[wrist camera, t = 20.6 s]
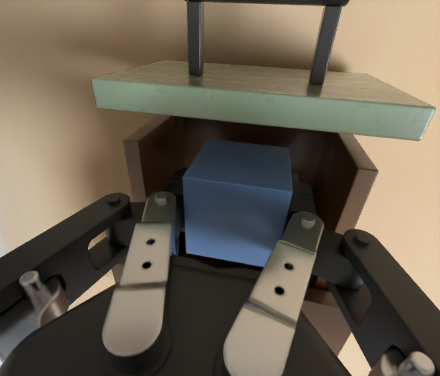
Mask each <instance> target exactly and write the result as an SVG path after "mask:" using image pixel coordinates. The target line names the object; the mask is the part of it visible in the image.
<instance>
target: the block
mask: <svg viewBox="0 0 440 376" xmlns="http://www.w3.org/2000/svg"><path fill="white" fill-rule="evenodd" d="M292 193H293V191H292V179H291V167H290V154H289V148H287V147H278V146H269V145H260V144H251V143H242V142H233V141H224V140H215V139H207V141H206V142H205V144H204V145H203V147H202V148H201V150H200V151H199V153H198V154H197V156H196V158H195V159H194V161H193V162H192V164H191V165H190V167H189V168H188V170H187V171H186V173H185V174H184V176H183V196H184V218H185V239H186V253H189V254H195V255H200V256H206V257H211V258H217V259H222V260H228V261H233V262H239V263H244V264H250V265H256V266H261V267H264V266H265V264H266V262H267V260H268V258H269V256H270V254H271V252H272V250H273V248H274V246H275V244H276V242H277V240H278V239H279V238H280V239H281V238H282V236H283V232H284V228H285V223H286V219H287V214H288V210H289V206H290V201H291V197H292Z"/></svg>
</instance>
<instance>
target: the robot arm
mask: <svg viewBox="0 0 440 376" xmlns="http://www.w3.org/2000/svg"><path fill="white" fill-rule="evenodd" d="M193 161H194V160H193ZM193 161H192V162H193ZM192 162H191V163H190V165H191V164H192ZM190 165H189V167H190ZM189 167H188V168H189ZM188 168H185V167H183V168H181V169H179V170H177V171H176V172H175V174H174V175H173V177H172V178H171V179H170V181H169V182H168V183H167V185H166V186H165V187H164V189H163V190H162V191H159V192H155V193H152V194H151V195H149V196H148V198H147V200H146V201H144V202H130V198H129V196H128V195H126V194H123V193H113V194H109V195H106V196H104V197H102V198H101V199H99V200H97V201H96V202H94V203H92V204H91V205H89V206H87V207H85V208H84V209H82V210H80V211H79V212H77V213H75V214H74V215H72V216H70V217H69V218H67V219H65V220H63V221H62V222H60V223H58V224H57V225H55V226H53V227H52V228H50V229H48V230H47V231H45V232H43V233H41V234H40V235H38V236H36V237H35V238H33V239H31V240H30V241H28V242H26V243H25V244H23V245H21V246H19V247H18V248H16V249H14V250H13V251H11V252H9V253H8V254H6V255H4V256H3V257H1V258H0V360H1V361H2V362H3V364H2V365H1V367H0V376H351V374H350V373H349V372H348V370H347V369H346V368H345V366H344V365H343V364H342V362H341V361H340V360H339V359H338V357H337V356H336V355H335V353H334V352H333V351H332V349H331V348H330V347H329V345H328V344H327V343H326V342H325V340H324V339H323V338H322V336H321V335H320V334H319V332H318V331H317V330H316V328H315V327H314V326H313V325H312V323H311V322H310V321H309V319H308V318H307V317H306V315H305V314H304V313H303V311H302V310H301V306H302V303H303V299H304V296H305V292H306V289H307V285H308V282H309V278H310V275H311V274H314V275H316V276H318V277H320V278H323V279H325V280H326V283H327V286H328V288H329V289H330V291H331V293H332V295H333V297H334V299H335V301H336V303H337V305H338V307H339V308H340V310H341V312H342V314H343V316H344V318H345V320H346V322H347V324H348V326H349V327H350V329H351V331H352V333H353V335H354V337H355V339H356V341H357V343H358V344H359V346H360V348H361V350H362V352H363V354H364V356H365V358H366V360H367V362H368V363H369V365H370V367H371V371H370V372H369V375H368V376H440V310H439V309H438V308H437V307H436V306H435V305H434V303H433V302H432V301H431V300H430V299H429V298H428V297H427V295H426V294H425V293H424V292H423V291H422V290H421V289H420V287H419V286H418V285H417V284H416V283H415V282H414V281H413V279H412V278H411V277H410V276H409V275H408V274H407V273H406V271H405V270H404V269H403V268H402V267H401V266H400V265H399V263H398V262H397V261H396V260H395V259H394V258H393V257H392V255H391V254H390V253H389V252H388V251H387V250H386V249H385V247H384V246H383V245H382V244H381V243H380V242H379V241H378V239H377V238H375V237H374V236H373V235H371V234H370V233H368V232H365V231H362V230H359V229H349V230H347V231H345V232H344V234H343V235H342V234H339V233H336V232H333V231H331V230H329V229H327V228H325V227H324V222H323V220H322V219H321V218H320V217H319V216H317V213H316V208H315V203H314V198H313V193H312V189H311V188H310V187H309V185H308V184H307V183H299V177H298V173H291V179H292V191H293V193H292V197H291V201H290V206H289V210H288V214H287V219H286V223H285V228H284V232H283V236H282V238H281V239H280V238H279V239H278V240H277V242H276V244H275V246H274V248H273V250H272V252H271V254H270V256H269V258H268V260H267V262H266V264H265V266H264V268H263V270H262V271H259V270H253V269H248V268H215V267H213V266H210V265H208V264H206V263H203V262H201V261H198V260H196V259H193V258H188V257H182V256H178V249H179V234H180V232H181V231H182V232H185V218H184V196H183V176H184V174H185V173H186V171H187V170H188ZM103 231H106V234H107V237H105V238H104V239H103V240H101V241H100V242H99V243H97V244H96V245H95V246H93V247H92V248H91V249H89V250H88V245H89V243H90V242H91V240H92V239H94V238H95V237H96V236H98V235H99V234H101V233H102V232H103ZM126 255H127V258H126V261H125V265H124V269H123V272H122V276H121V280H120V281H119V282H118V283H116V284H114V285H113V286H111V287H109V288H107V289H106V290H104V291H102V292H100V293H99V294H97V295H95V296H93V297H92V298H90V299H88V300H86V301H85V302H83V303H81V304H79V305H78V306H76V307H74V308H73V309H71V310H69V311H67V310H68V308H69V306H70V305H71V304H72V303H73V302H74V301H75V300H76V299H77V298H79V297H80V296H81V295H82V294H83V293H84V292H85V291H87V290H88V289H89V288H90V287H91V286H92V285H93V284H95V283H96V282H97V281H98V280H99V279H100V278H101V277H103V276H104V275H105V274H106V273H107V272H108V271H109V270H111V269H112V268H113V267H114V266H115V265H116V264H117V263H118V262H120V261H121V260H122V259H123V258H124V257H125V256H126Z"/></svg>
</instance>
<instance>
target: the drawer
mask: <svg viewBox="0 0 440 376" xmlns="http://www.w3.org/2000/svg"><path fill="white" fill-rule="evenodd" d="M185 1H188V2H187V27H188V61H174V60H163V61H159V62H155V63H151V64H147V65H143V66H139V67H135V68H131V69H127V70H123V71H119V72H115V73H111V74H107V75H103V76H99V77H95V78H92V79H91V82H92V86H93V91H94V96H95V100H96V105H97V108H102V109H112V110H122V111H132V112H141V113H151V114H160V115H158V116H157V117H155V118H154V119H153V120H151V121H150V122H148V123H147V124H145V125H144V126H142V127H141V128H139V129H138V130H137V131H135V132H134V133H132V134H131V135H129V136H128V137H126V138H125V139H124V140H123V144H124V150H125V156H126V162H127V168H128V173H129V179H130V185H131V191H132V197H133V202H144V201H146V200H147V198H148V196H149V195H151V194H152V193H155V192H159V191H162V190H163V189H164V187H165V186H166V185H167V183H168V182H169V181H170V179H171V178H172V177H173V175H174V174H175V172H176V171H177V170H179V169H181V168H183V167H185V168H188V167H189V165H190V163H191V162H192V161H193V160H194V159H195V158H196V156H197V154H198V153H199V151H200V150H201V148H202V147H203V145H204V144H205V142H206V141H207V139H215V140H224V141H233V142H242V143H251V144H260V145H269V146H278V147H287V148H289V154H290V167H291V173H298V177H299V183H307V184H308V185H309V187H310V188H311V189H312V193H313V198H314V203H315V208H316V213H317V216H319V217H320V218H321V219H322V220H323V222H324V227H325V228H327V229H329V230H331V231H333V232H336V233H339V234H342V235H343V234H344V232H345V231H347V230H349V229H354V228H355V226H356V223H357V221H358V219H359V216H360V214H361V212H362V209H363V207H364V204H365V202H366V200H367V197H368V195H369V193H370V190H371V188H372V186H373V183H374V181H375V179H376V176H377V174H378V169H377V168H376V167H375V165H374V164H373V162H372V161H371V160H370V158H369V157H368V155H367V154H366V152H365V151H364V150H363V148H362V147H361V145H360V144H359V142H358V141H357V140H356V138H355V137H354V135H353V134H355V135H365V136H375V137H384V138H394V139H404V140H413V141H420V140H421V139H422V137H423V135H424V133H425V130H426V128H427V126H428V124H429V122H430V120H431V118H432V116H433V114H434V112H435V110H436V108H435V107H434V106H432V105H430V104H427V103H425V102H423V101H421V100H419V99H417V98H415V97H413V96H411V95H409V94H407V93H405V92H403V91H401V90H399V89H397V88H395V87H393V86H391V85H389V84H387V83H385V82H383V81H380V80H378V79H376V78H374V77H372V76H370V75H368V74H361V73H346V72H332V71H327V67H328V63H329V59H330V54H331V50H332V46H333V42H334V38H335V34H336V30H337V26H338V21H339V17H340V13H341V9H342V7H344V6H346V5H347V4H348V2H349V1H350V0H185ZM202 2H221V3H251V4H281V5H311V6H325V7H324V8H323V13H322V18H321V22H320V27H319V32H318V37H317V41H316V46H315V51H314V56H313V60H312V65H311V70H303V69H289V68H274V67H260V66H246V65H231V64H217V63H203V48H204V4H203V3H202ZM178 256H182V257H188V258H193V259H196V260H198V261H201V262H203V263H206V264H208V265H210V266H213V267H215V268H248V269H253V270H259V271H262V270H263V268H264V267H261V266H256V265H250V264H244V263H239V262H233V261H228V260H222V259H217V258H211V257H206V256H200V255H195V254H189V253H186V239H185V232H182V231H181V232H180V234H179V249H178ZM307 287H308V288H313V289H319V290H324V291H328V289H329V288H328V286H327V283H326V280H325V279H323V278H320V277H318V276H316V275H314V274H311V275H310V278H309V282H308V285H307Z"/></svg>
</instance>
